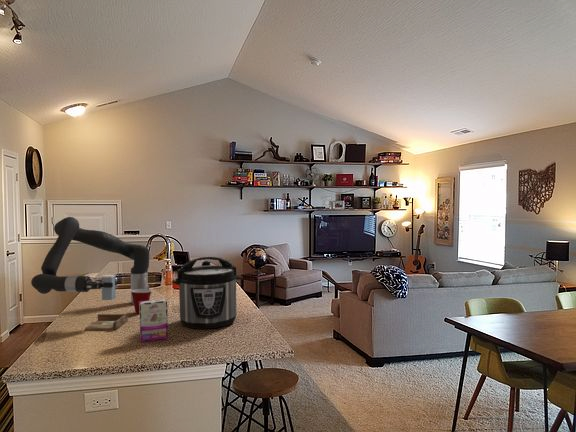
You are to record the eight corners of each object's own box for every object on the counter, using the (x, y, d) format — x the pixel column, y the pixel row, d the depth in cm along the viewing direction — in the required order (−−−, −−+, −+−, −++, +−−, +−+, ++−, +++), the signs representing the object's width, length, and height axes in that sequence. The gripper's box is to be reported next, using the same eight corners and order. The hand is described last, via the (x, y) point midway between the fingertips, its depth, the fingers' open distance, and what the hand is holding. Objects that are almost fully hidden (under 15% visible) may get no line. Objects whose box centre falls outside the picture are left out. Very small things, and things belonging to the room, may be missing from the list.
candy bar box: (166, 336, 187) (166, 298, 186) (168, 339, 182) (167, 300, 181) (139, 339, 182) (138, 300, 182) (140, 342, 178) (139, 303, 177)
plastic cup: (157, 311, 229) (156, 288, 228) (142, 316, 219) (141, 292, 219) (141, 309, 233) (141, 287, 233) (126, 313, 224) (125, 290, 223)
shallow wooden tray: (98, 321, 209) (98, 314, 209) (127, 321, 210) (127, 314, 209) (84, 330, 194) (84, 322, 194) (116, 330, 195) (115, 322, 194)
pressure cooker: (163, 328, 198) (163, 259, 197) (194, 313, 225) (194, 252, 224) (222, 334, 189) (222, 262, 188) (247, 317, 216) (247, 254, 215)
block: (105, 297, 204) (105, 274, 204) (115, 297, 205) (115, 274, 204) (101, 299, 200) (101, 276, 200) (111, 300, 200) (111, 276, 200)
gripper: (70, 278, 194) (108, 278, 195) (84, 273, 209) (120, 273, 209) (70, 295, 195) (108, 295, 195) (84, 288, 209) (120, 288, 209)
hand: (114, 284), depth 202 cm, fingers closed on block, 4 cm apart
